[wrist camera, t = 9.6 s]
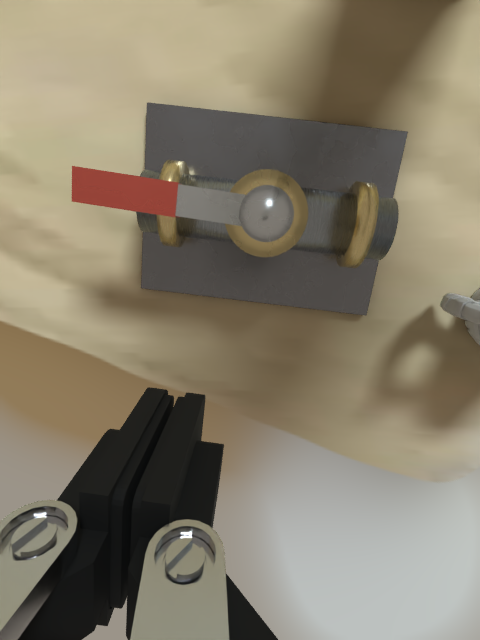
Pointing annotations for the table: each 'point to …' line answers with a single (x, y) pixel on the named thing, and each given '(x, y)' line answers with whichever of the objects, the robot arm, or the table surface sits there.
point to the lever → (188, 201)
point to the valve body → (300, 185)
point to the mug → (465, 311)
